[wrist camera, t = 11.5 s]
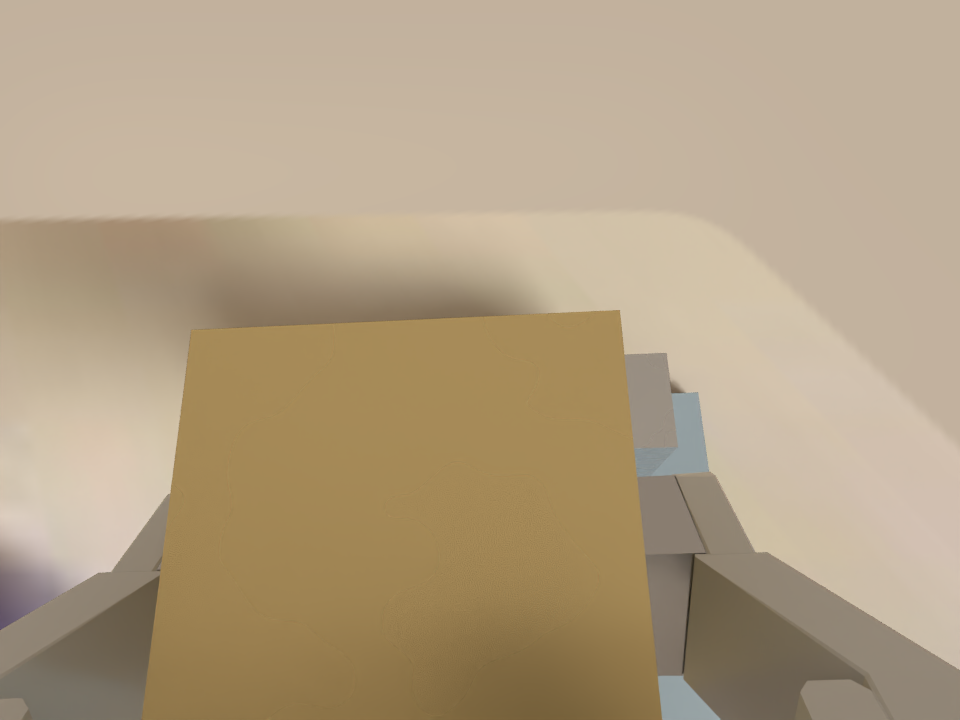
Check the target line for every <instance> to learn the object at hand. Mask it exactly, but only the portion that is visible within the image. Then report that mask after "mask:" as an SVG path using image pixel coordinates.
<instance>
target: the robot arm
mask: <svg viewBox="0 0 960 720" xmlns="http://www.w3.org/2000/svg"><path fill="white" fill-rule="evenodd" d="M637 481H638V491H639V501H640V510H641V520H642V529H643V539H644V549H645V558H646V568H647V578H648V587H649V597H650V606H651V616H652V626H653V635H654V645H655V655H656V664H657V674H658V676H683V679H684V680H685V682H686V683H687V684H688V685H689V686H690V687H691V688H692V689H693V690H694V691H695V692H696V693H697V694H698V696H699V697H700V698H701V699H702V700H703V701H704V702H705V703H706V704H707V705H708V706H709V707H710V708H711V709H712V711H713V712H714V713H715V714H716V715H717V716H718V717H719V718H720V719H721V720H960V670H959V669H957V668H955V667H954V666H952V665H950V664H949V663H947V662H945V661H944V660H942V659H941V658H939V657H937V656H936V655H934V654H932V653H931V652H929V651H927V650H926V649H924V648H923V647H921V646H919V645H918V644H916V643H914V642H913V641H911V640H910V639H908V638H906V637H905V636H903V635H901V634H900V633H898V632H896V631H895V630H893V629H892V628H890V627H888V626H887V625H885V624H883V623H882V622H880V621H878V620H877V619H875V618H874V617H872V616H870V615H869V614H867V613H865V612H864V611H862V610H861V609H859V608H857V607H856V606H854V605H852V604H851V603H849V602H847V601H846V600H844V599H843V598H841V597H839V596H838V595H836V594H834V593H833V592H831V591H830V590H828V589H826V588H825V587H823V586H821V585H820V584H818V583H816V582H815V581H813V580H812V579H810V578H808V577H807V576H805V575H803V574H802V573H800V572H798V571H797V570H795V569H794V568H792V567H790V566H789V565H787V564H785V563H784V562H782V561H781V560H779V559H777V558H776V557H774V556H772V555H771V554H769V553H767V552H765V553H755V551H754V549H753V547H752V545H751V543H750V541H749V539H748V537H747V536H746V534H745V532H744V530H743V528H742V526H741V524H740V522H739V520H738V518H737V516H736V514H735V512H734V510H733V508H732V506H731V504H730V503H729V501H728V499H727V497H726V495H725V493H724V491H723V489H722V487H721V485H720V483H719V481H718V479H717V477H716V475H714V474H713V473H711V472H699V473H685V474H672V475H664V476H645V477H637ZM169 501H170V494H168V495H167V496H166V498H165V499H164V500H163V502H162V503H161V504H160V506H159V507H158V508H157V510H156V511H155V513H154V514H153V515H152V517H151V518H150V519H149V521H148V522H147V524H146V525H145V526H144V528H143V529H142V530H141V532H140V533H139V535H138V536H137V537H136V539H135V540H134V541H133V543H132V544H131V545H130V547H129V548H128V550H127V551H126V552H125V554H124V555H123V556H122V558H121V559H120V561H119V562H118V563H117V565H116V566H115V567H114V569H113V570H112V572H107V573H98V574H96V575H94V576H93V577H91V578H89V579H87V580H86V581H84V582H82V583H81V584H79V585H77V586H75V587H74V588H72V589H70V590H68V591H67V592H65V593H63V594H62V595H60V596H58V597H56V598H55V599H53V600H51V601H50V602H48V603H46V604H44V605H43V606H41V607H39V608H38V609H36V610H34V611H32V612H31V613H29V614H27V615H26V616H24V617H22V618H20V619H19V620H17V621H15V622H14V623H12V624H10V625H8V626H7V627H5V628H3V629H2V630H0V720H141V719H142V711H143V704H144V696H145V688H146V680H147V672H148V665H149V657H150V649H151V641H152V633H153V626H154V618H155V610H156V602H157V594H158V587H159V579H160V571H161V563H162V555H163V548H164V540H165V532H166V524H167V517H168V509H169Z"/></svg>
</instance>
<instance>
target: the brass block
mask: <svg viewBox="0 0 960 720" xmlns="http://www.w3.org/2000/svg"><path fill="white" fill-rule="evenodd" d="M141 720H662V712H661V703H660V693H659V683H658V674H657V664H656V655H655V645H654V635H653V626H652V616H651V606H650V597H649V587H648V578H647V568H646V558H645V549H644V539H643V529H642V520H641V510H640V501H639V491H638V481H637V472H636V462H635V452H634V443H633V433H632V424H631V414H630V404H629V395H628V385H627V375H626V366H625V356H624V347H623V337H622V327H621V318H620V310H613V311H591V312H570V313H548V314H526V315H505V316H483V317H461V318H439V319H418V320H396V321H374V322H353V323H331V324H309V325H287V326H266V327H244V328H222V329H201V330H191V337H190V345H189V353H188V361H187V368H186V376H185V384H184V392H183V400H182V407H181V415H180V423H179V431H178V439H177V446H176V454H175V462H174V470H173V478H172V485H171V493H170V501H169V509H168V517H167V524H166V532H165V540H164V548H163V555H162V563H161V571H160V579H159V587H158V594H157V602H156V610H155V618H154V626H153V633H152V641H151V649H150V657H149V665H148V672H147V680H146V688H145V696H144V704H143V711H142V719H141Z"/></svg>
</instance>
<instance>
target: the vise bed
mask: <svg viewBox="0 0 960 720" xmlns="http://www.w3.org/2000/svg"><path fill="white" fill-rule="evenodd" d="M624 356H625V366H626V375H627V385H628V395H629V404H630V414H631V424H632V433H633V443H634V452H635V462H636V472H637V477H645V476H664V475H672V474H685V473H699V472H709V468H708V461H707V454H706V446H705V439H704V432H703V425H702V417H701V410H700V403H699V396H698V392H697V393H671V386H670V378H669V370H668V362H667V354H666V353H655V354H629V355H624ZM658 683H659V693H660V703H661V712H662V720H721V719H720V718H719V717H718V716H717V715H716V714H715V713H714V712H713V711H712V709H711V708H710V707H709V706H708V705H707V704H706V703H705V702H704V701H703V700H702V699H701V698H700V697H699V696H698V694H697V693H696V692H695V691H694V690H693V689H692V688H691V687H690V686H689V685H688V684H687V683H686V682H685V680H684V679H683V676H658Z"/></svg>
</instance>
